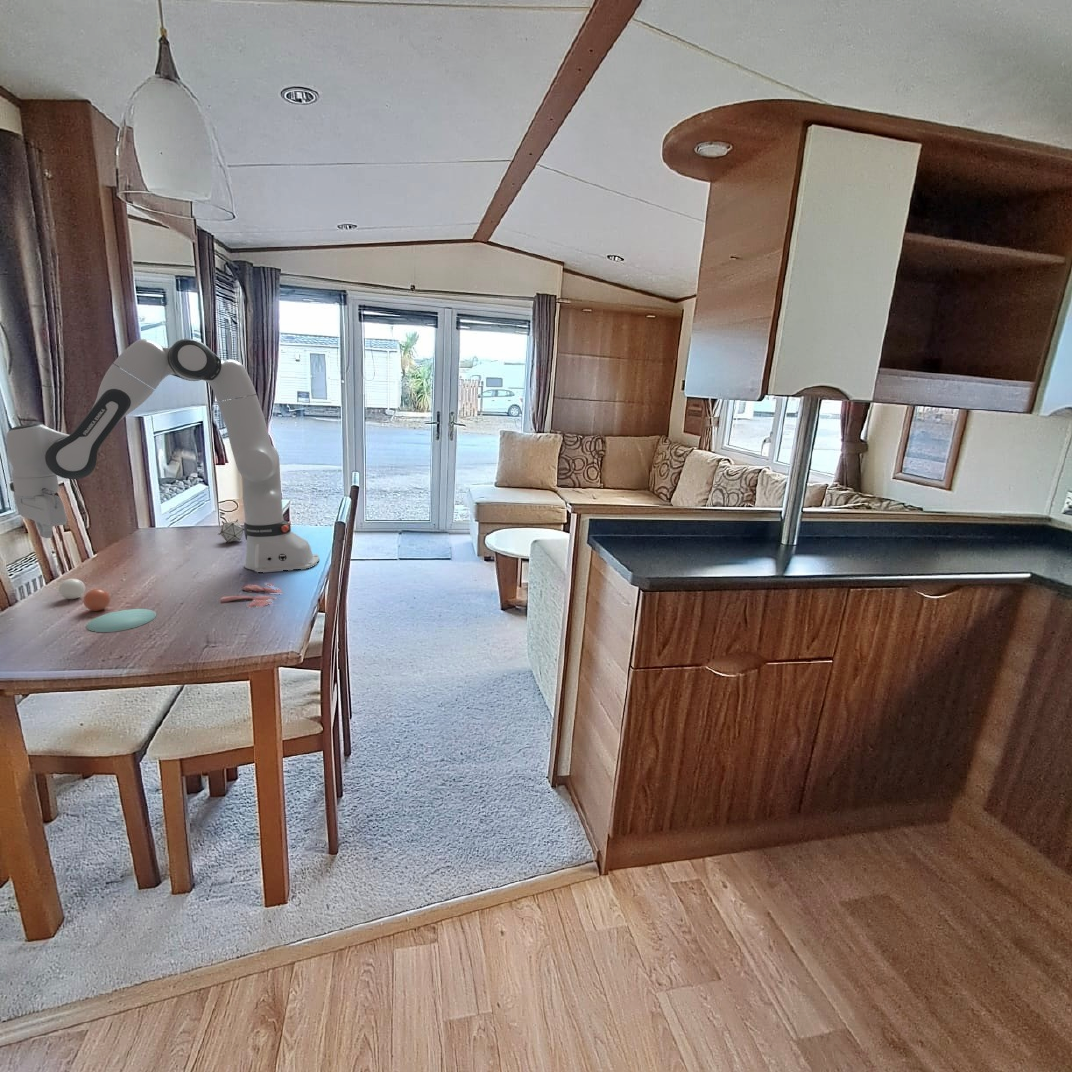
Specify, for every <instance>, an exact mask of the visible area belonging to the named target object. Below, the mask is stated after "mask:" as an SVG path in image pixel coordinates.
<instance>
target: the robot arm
mask: <svg viewBox="0 0 1072 1072" xmlns="http://www.w3.org/2000/svg"><path fill="white" fill-rule="evenodd" d="M168 376H174V377H177V378H180V379H182V380H184V381H185V380H186V381H190V382H198V381H204V382H206V383H207V384H208V385H209V386H210V387H211V388H212V391H213V394H214V396H215V399H216V403H217V405H218V408H219V411H220V414H221V417H222V420H223V423H224V425H225V429H226V432H227V436H228V440H229V443H230V447H231V451H232V455H233V458H234V462H235V465H236V468H237V471H238V473H239V474H240V475H241V477H242V501H243V502H242V503H243V511H244V512H243V514H244V521H245V522H244V523H243V529H244V530H243V534H244V537H245V540H246V553H245V561H244V568H246V569H247V570H252V571H254V572H255V573H258V572H263V573H272V572H273V573H274V572H284V571H283V570H288V571H294V570H293V569H301V570H307V569H306V568H309V569H311V568H310V567H311V566H313V565H315V566H317V565H318V563H319V562H320V556H319V555H318V554H316V553H313V552H312V548H311V545H310V542H308V541H307V540H306V539H304V538H302V537H301V536H299V535H298V534H296V533H294V532H293V531H292V529H291V528H292V527H291V526H292V523H291V521H287V520H285V519H284V514H283V513H284V510H283V502H282V501H283V500H282V499H283V498H282V485H281V482H282V480H281V467H280V466H281V465H280V464H281V463H280V457H279V456H280V455H279V453H278V451H277V449H276V448H275V447H274V446H273V445H272V442H271V438H270V434H269V430H268V428H267V423H266V419H265V414H264V412H263V410H262V406H261V404H260V401H259V397H258V395H257V392H256V391H257V390H256V389H255V386H254V384H253V382H252V379H251V378H250V375H249V374H248V371H247V369H246V368H245V366H244V365H243V363H241V362H240V361H237V360H235V359H221V358H220V357H219V356H218V355H217V354H216V353H214V351H212V349H211V348H210V347H209V346H207V344H205V343H203V342H201V341H200V340H197V339H194V338H182V339H179V340H178V341H176V342H174V343H173V345H171V347H164V346H162V345H161V344H159V343H157V342H155V341H152V340H150V339H146V338H140V339H137V340H136V341H134V342H133V343H131V344H130V345H129V346H128V347H126V349H124V351H123V352H121V354H120V355H119V356H117V358H115V360H114V361H113V363H112V364H111V365H110V366H109V368H108V369H107V371H106V372H105V375H104V376H103V378H102V380H101V382H100V386H99V387H98V391H97V396H96V399H95V402H94V404H92V408H91V409H90V410H89V411H88V412H87V414H86V416H85V417H84V418H83V419H82V421H81V422H80V423H79V424H78V425H77V427H76V428H75V429H74V431H72V433H70V434H68V433H64V432H61V431H58V430H55V429H52V428H50V427H48V426H46V425H45V424H43V423H37V422H36V423H27V424H22V425H21V424H20V425H16V426H14V427H12V428H10V429H9V430H8V431H7V433H6V438H5V439H6V450H7V455H8V461H9V462H10V464H11V466H12V473H11V477H12V481H11V482H10V483H9V490H10V492H13V497H14V502H15V504H16V507H17V511H18V513H19V514H20V516H21V517H23V518H26V519H27V520H32V521H34V525H35V526H36V527H37V530H38V531H39V536H40V537H41V538H44V539H51V538H53V528H54V527H58V526H59V527H60V526H64V525H66V524H67V522H68V519H67V515H66V510H65V506H64V503H63V500H62V498H61V497H60V496H58V495H56V494H57V493H59V492H60V486H59V485H60V484H59V481H58V477H60V478H63V479H67V480H80V479H83V478H86V477H87V476H89V475H90V474H91V473H93V471H94V470H95V468H96V466H97V458H98V457H97V456H98V453H99V451H100V448H101V446H102V445H103V443H104V442H105V441H106V440H107V438H108V437H109V435H110V434H111V433H112V432H113V430H114V429H115V427H116V426H117V425H118V423H119V422H121V421H122V420H123V419H124V418H125V417H126V416H127V415H129V414H131V413H132V412H133V411H135V410H137V408H139V407H140V406H141V405H142V404H143V403H144V402H146V401H147V400H148V399H149V398H150V396H151V395H152V394H153V393H154V392H155V390H156V389H157V388H158V386H159V385H160V384H161V382H163V380H164V379H165V378H167V377H168ZM318 561H319V562H318ZM317 562H318V563H317Z"/></svg>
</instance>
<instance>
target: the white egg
mask: <svg viewBox="0 0 1072 1072" xmlns="http://www.w3.org/2000/svg"><path fill="white" fill-rule="evenodd" d="M58 592H59V594H60V596H61V597H62V598H64V599H66V600H75V599H78V598H80V597H81V596H83V595H84V594H85V592H86V585H85V583H84V582H83V581H82V580H81V579H78V578H68V579H65V580H63V581H62V582H61V583H60V585H59V587H58Z"/></svg>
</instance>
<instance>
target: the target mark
mask: <svg viewBox="0 0 1072 1072" xmlns="http://www.w3.org/2000/svg"><path fill="white" fill-rule="evenodd" d="M156 616H157V613H156V612H155V611H154V610H151V609H148V608H132V609H123V610H117V611H112V612H107V613H106V614H102V615H100V616H96V617H95V618H93V619H91V620H89V621H88V622H87V624H86V629H87V630H88V631H90V630H91V632H93V631H95V632H94V633H114V632H115V633H117V632H121V631H127V630H132V629H135V628H138V627H141V626H144V625H146V624H149V623H150V622H152V621H153V620H154V619H155V618H156ZM131 628H132V629H131Z"/></svg>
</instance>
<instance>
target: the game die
mask: <svg viewBox="0 0 1072 1072" xmlns="http://www.w3.org/2000/svg"><path fill="white" fill-rule="evenodd" d="M221 523H222V527H221V529H220V533H218V534H217V535H218V536H222V538H223V539H224V540H225V541H226V542H225V544H226V545H228V543H230V542H237V541H240V540H241V539H242V536H243V534H244V527H242V525H241V524H240V523H239V520H238V519H236V520H235V521H228V522H227V521H226V522H224V521H221Z"/></svg>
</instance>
